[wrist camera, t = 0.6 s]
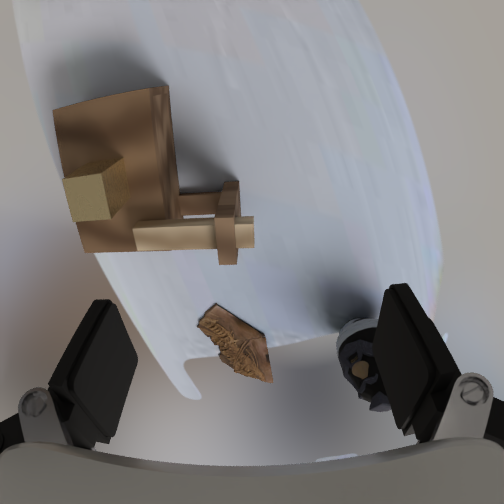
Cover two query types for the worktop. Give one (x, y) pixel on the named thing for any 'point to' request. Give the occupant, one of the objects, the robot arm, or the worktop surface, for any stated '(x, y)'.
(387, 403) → the black rounded piece
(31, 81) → the worktop surface
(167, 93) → the wooden box
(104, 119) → the lid
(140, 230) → the wooden key
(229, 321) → the wooden fragment
